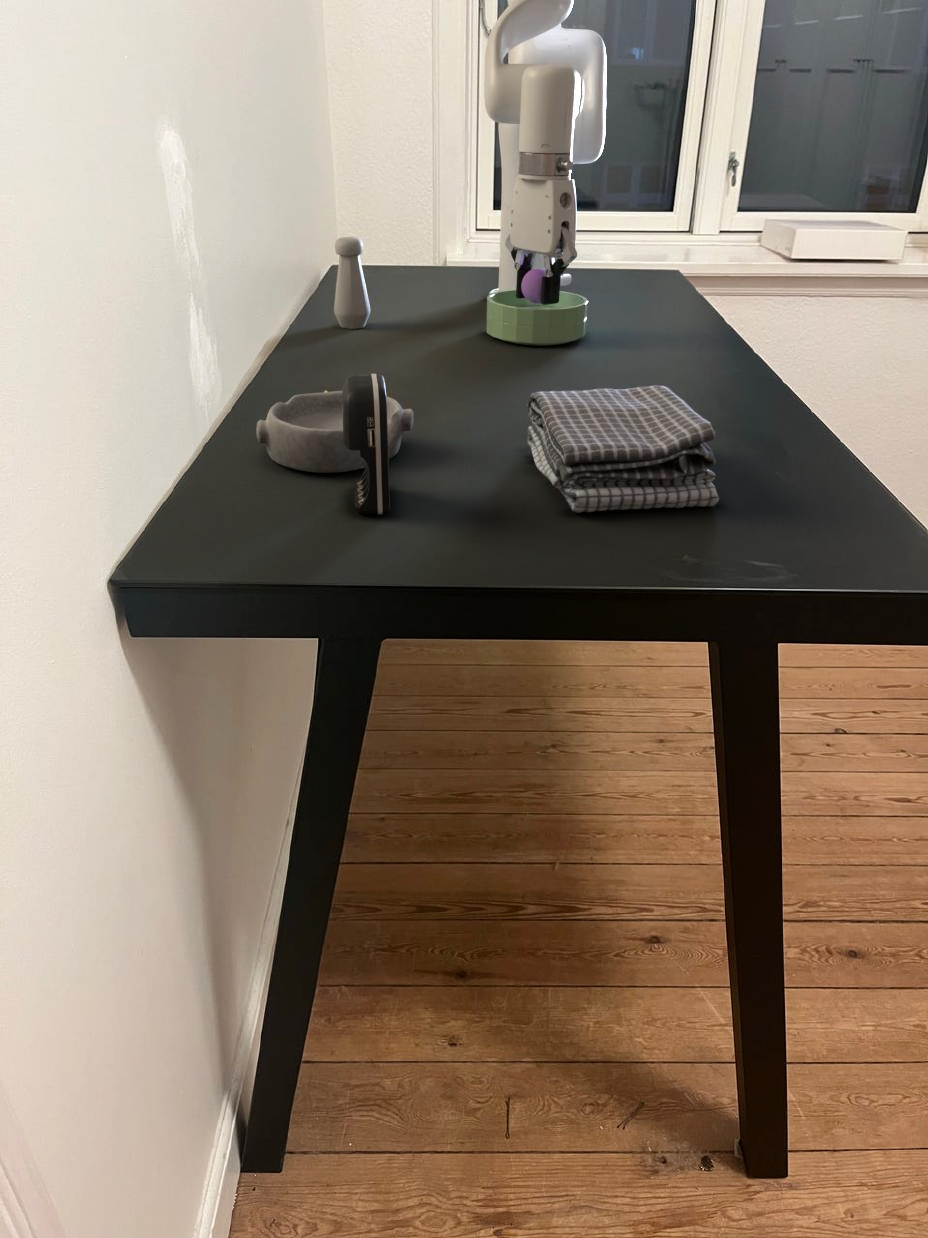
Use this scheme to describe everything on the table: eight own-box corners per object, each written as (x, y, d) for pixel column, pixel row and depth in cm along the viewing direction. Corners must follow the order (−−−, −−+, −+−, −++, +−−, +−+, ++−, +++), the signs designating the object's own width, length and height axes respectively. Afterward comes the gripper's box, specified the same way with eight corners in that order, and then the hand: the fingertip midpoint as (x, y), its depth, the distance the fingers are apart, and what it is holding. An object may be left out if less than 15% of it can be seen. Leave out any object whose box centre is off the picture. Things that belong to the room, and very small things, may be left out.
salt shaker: (374, 322, 147) (371, 235, 140) (367, 330, 142) (364, 241, 136) (338, 320, 148) (334, 234, 141) (330, 329, 143) (325, 239, 136)
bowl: (539, 320, 150) (541, 285, 148) (605, 338, 140) (608, 301, 137) (466, 332, 142) (466, 295, 140) (530, 352, 132) (532, 313, 129)
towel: (656, 444, 99) (665, 372, 95) (721, 512, 84) (735, 429, 80) (519, 449, 97) (523, 376, 93) (560, 520, 82) (566, 435, 78)
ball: (538, 298, 142) (540, 264, 139) (560, 304, 138) (562, 269, 136) (513, 302, 139) (515, 267, 137) (535, 307, 136) (537, 272, 133)
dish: (425, 444, 98) (424, 398, 96) (359, 488, 87) (356, 438, 85) (311, 423, 103) (308, 380, 101) (235, 463, 92) (229, 415, 90)
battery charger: (346, 488, 87) (340, 369, 81) (386, 487, 88) (382, 368, 82) (347, 519, 81) (340, 392, 75) (390, 517, 82) (386, 391, 76)
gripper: (606, 170, 126) (594, 307, 135) (525, 162, 137) (519, 289, 146) (566, 172, 122) (557, 313, 131) (486, 163, 133) (482, 293, 142)
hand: (537, 299), depth 138 cm, fingers closed on ball, 4 cm apart
